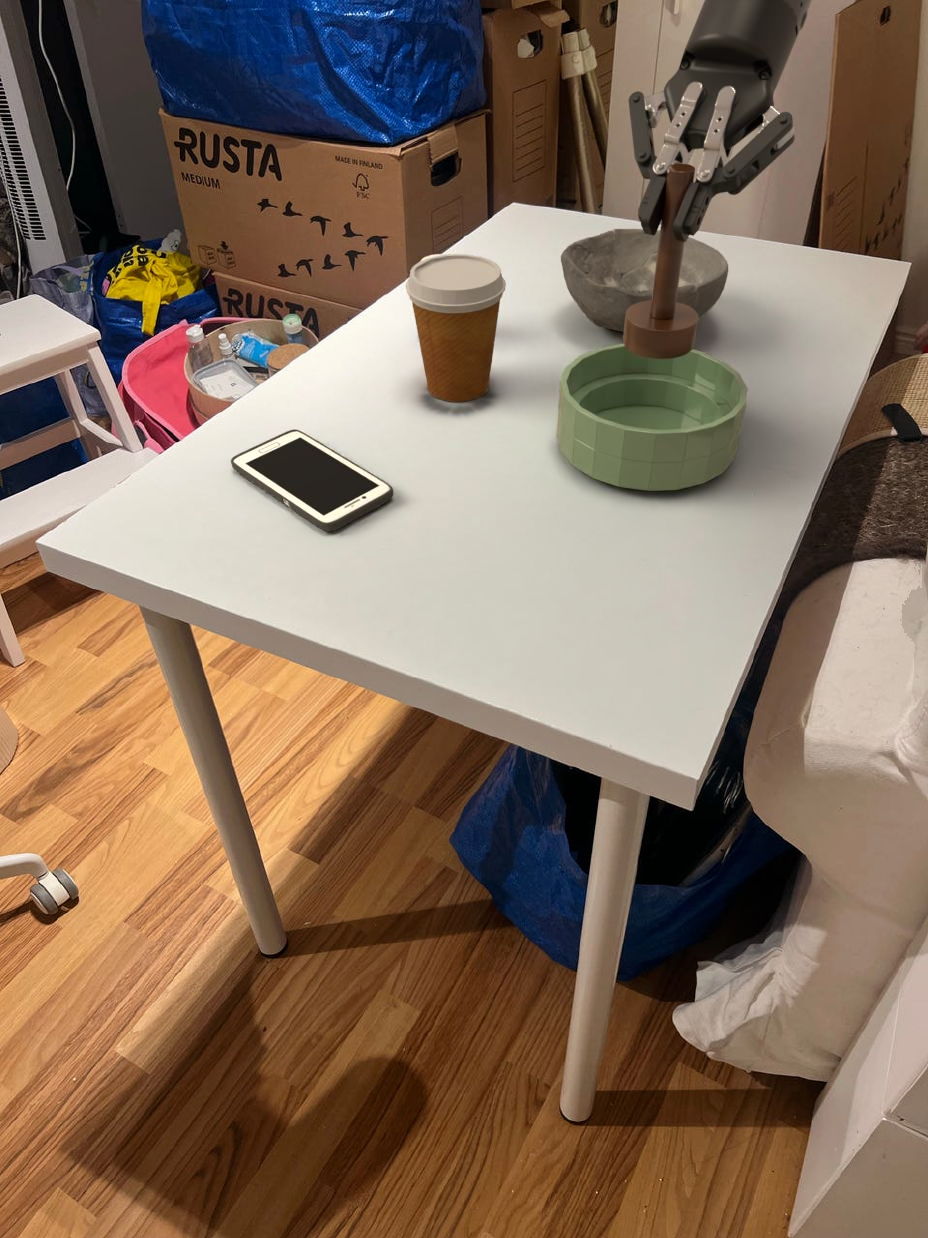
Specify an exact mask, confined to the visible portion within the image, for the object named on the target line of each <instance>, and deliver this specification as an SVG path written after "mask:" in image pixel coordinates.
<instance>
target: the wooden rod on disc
mask: <svg viewBox="0 0 928 1238" xmlns="http://www.w3.org/2000/svg"><path fill="white" fill-rule="evenodd" d="M695 173H696V167H695V166H693V165H692V164H689V163H688V164H673V165H670V166H669V167H668V173H667V181H666V189H665V197H664V205H663V213H662V220H661V222H660V237H659V245H658V253H657V261H656V269H655V277H654V285H653V293H652V300H648V301H642V302H639V303H636V304H634V305H632V306H630V307H629V308H628V309H627V311H626V315H625V324H624V332H623V333H622V344H624V346H625V347H626V348H627V349H628V350H629V351H631V352H633V353H635V354H637V355H640V356H643V357H647V358H653V359H671V358H677V357H681V356H684V355H686V354H688V353H689V352H690V351H691V350H692V349H693V350H694V347H695V342H696V335H697V331H698V323H699V319H698V314H697V312H696V311H695V310H694V309H692V308H691V307H689V306H687V305H685V304H682V303H679V302H676V299H677V292H678V285H679V278H680V271H681V264H682V257H683V250H684V243H685V242H682V241H677V240H676V239H675V236H674V234H673V230H672V229H673V224H674V221H675V219H676V216H677V214H678V211H679V209H680V207H681V204H682V202H683V199H684V197H685V194H686V192H687V189H688V187H689V185H690V182H695V181H694V179H695Z"/></svg>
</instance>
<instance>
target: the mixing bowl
mask: <svg viewBox="0 0 928 1238" xmlns="http://www.w3.org/2000/svg"><path fill="white" fill-rule="evenodd" d="M558 388H559V391H558V406H557V407H558V408H557V409H558V410H557V424H556V439H557V445H558V448H559V451H560V453H561V454H562V455H563V456H564V458H565V459H566V460H567V461H568V463H569V464H570V465H571V466H573V468H576V469H577V470H579V471H580V472H582V473H584V474H585V475H587V476H589V477H590V478H592V479H594V480H597V481H599V482H603V483H607V484H609V485H612V486H615V487H620V488H625V489H631V490H637V491H647V492H648V491H649V492H654V491H678V490H682V489H686V488H691V487H696V486H698V485H703V484H706V483H708V482H709V481H711V480H713V479H714V478H717V477H718V476H720V475H722V474H723V473H725V472H726V470H727V469H728V467H730V465H731V464H732V463H733V461H734V460H735V459H736V453H737V449H738V444H739V440H740V435H741V431H742V425H743V422H744V416H745V411H746V407H747V401H748V391H749V388H748V386H747V384H746V383H745V380H744V379H743V377H742V375H741V374H740V372H738V371H737V370H735V369H734V368H733V367H732V366H731V365H729V364H728V363H726V362H725V361H724V360H722V359H720V358H717V357H715V356H712V355H710V354H708V353H706V352H704V351H700V350H697V349H694V348H693V349H692V350H691V351H690V352H689V353H688V354H686V355H684V356H681V357H677V358H671V359H653V358H647V357H643V356H640V355H637V354H635V353H633V352H631V351H629V350H628V349H627V348H626V347H625V346H624V344H623V343H619V344H612V345H608V346H603V347H599V348H596V349H594V350H591V351H589V352H586V353H583V354H581V355H578V357H576V358H575V359H574V360H573V361H572V362H570V363H569V364H568V365H567V366H566V367H564V370H563V372H562V374H561V377H560V379H559V387H558Z"/></svg>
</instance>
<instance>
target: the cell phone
mask: <svg viewBox="0 0 928 1238" xmlns="http://www.w3.org/2000/svg"><path fill="white" fill-rule="evenodd" d="M230 463H231V464H230V465H231V468H232V469H233V470H234V471H236V472H237V473H238V474H240V475H241V476H242V477H244V478H245V479H247V480H249V481H250V482H252V483H253V484H255V485H256V486H257V487H259V488H261V489H262V490H263V491H265V492H266V493H267V494H269V495H270V496H272V497H273V498H275V499H277V500H278V501H279V502H281V503H283V504H284V505H286V506H287V507H289V508H290V510H292V511H293V512H295V513H297V514H298V515H299V516H301V517H303V518H304V519H305V520H307V521H308V522H310V523H311V524H313V525H314V526H316V527H317V528H318V529H320V530H323V531H325V532H333V531H336V530H339V529H340V528H342V527H343V526H345V525H347V524H349V523H352V522H353V521H355V520H356V519H358V518H360V517H362V516H364V515H365V514H367V513H369V512H371V511H372V510H375V509H377V508H378V507H380V506H382V505H384V504H385V503H387V502H389V501H390V500H392V498H393V497H394V488H393V487H392V485H390V484H389V483H388V482H386V481H385V480H384V479H383V478H380V477H378V476H377V475H375V474H374V473H372V472H370V471H369V470H367V469H366V468H364V467H362V466H361V465H358V464H357V463H355V462H354V461H352V460H350V459H348V458H347V457H345V456H344V455H342V454H340V453H339V452H337V451H335V450H334V449H332V448H330V447H328V446H327V445H325V444H324V443H322V442H320V441H319V440H317V439H315V438H314V437H312V436H310V435H309V434H307V433H306V432H303V431H301V430H299V429H294V428H293V429H290V430H287V431H285V432H282V433H281V434H278V435H276V436H274V437H272V438H270V439H268V440H265V441H263V442H261V443H259V444H257V445H255V446H252V447H250V448H248V449H246V450H243V451H242V452H239V453H238V454H235V455H234V456H233V457H232V458H231V459H230Z"/></svg>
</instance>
